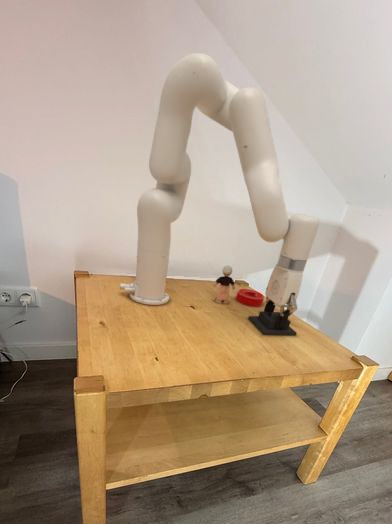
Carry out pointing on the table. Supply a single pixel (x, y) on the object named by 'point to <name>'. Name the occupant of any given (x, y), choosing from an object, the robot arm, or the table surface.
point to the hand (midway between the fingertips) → (273, 321)
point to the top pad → (270, 320)
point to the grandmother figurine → (224, 285)
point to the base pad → (266, 331)
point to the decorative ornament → (249, 297)
